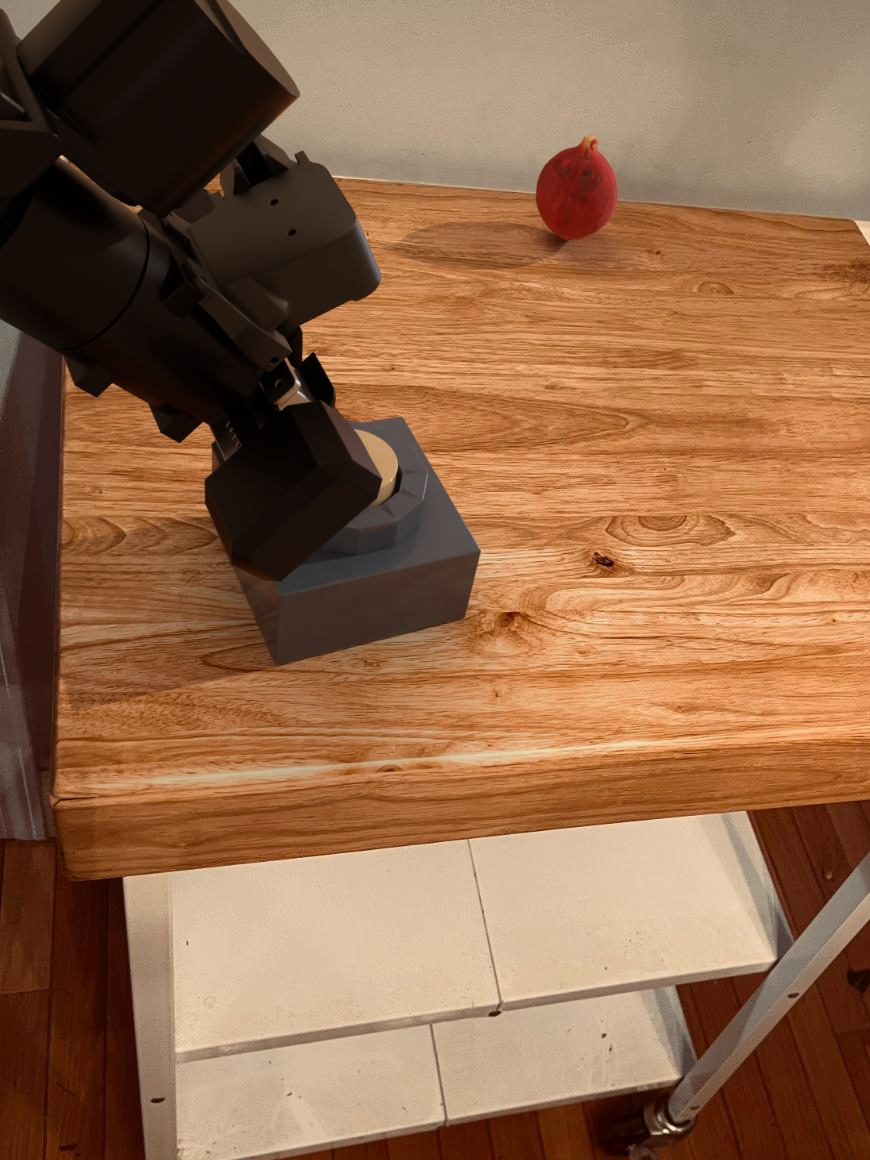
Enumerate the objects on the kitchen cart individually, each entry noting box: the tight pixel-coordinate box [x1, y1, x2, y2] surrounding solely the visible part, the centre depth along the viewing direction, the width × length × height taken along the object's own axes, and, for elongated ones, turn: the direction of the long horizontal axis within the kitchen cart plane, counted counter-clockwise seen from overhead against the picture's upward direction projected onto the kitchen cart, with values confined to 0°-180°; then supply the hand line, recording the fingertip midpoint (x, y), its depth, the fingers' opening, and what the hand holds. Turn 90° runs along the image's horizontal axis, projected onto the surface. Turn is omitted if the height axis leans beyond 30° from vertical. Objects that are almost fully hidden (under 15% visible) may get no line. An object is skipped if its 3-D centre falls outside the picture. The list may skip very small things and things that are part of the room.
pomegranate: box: [534, 134, 618, 242], centre depth 84 cm, size 6×6×8 cm
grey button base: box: [211, 416, 482, 666], centre depth 59 cm, size 10×10×7 cm
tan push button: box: [354, 429, 398, 508], centre depth 56 cm, size 4×4×2 cm
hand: (357, 452), depth 56 cm, fingers closed, pressing on tan push button
